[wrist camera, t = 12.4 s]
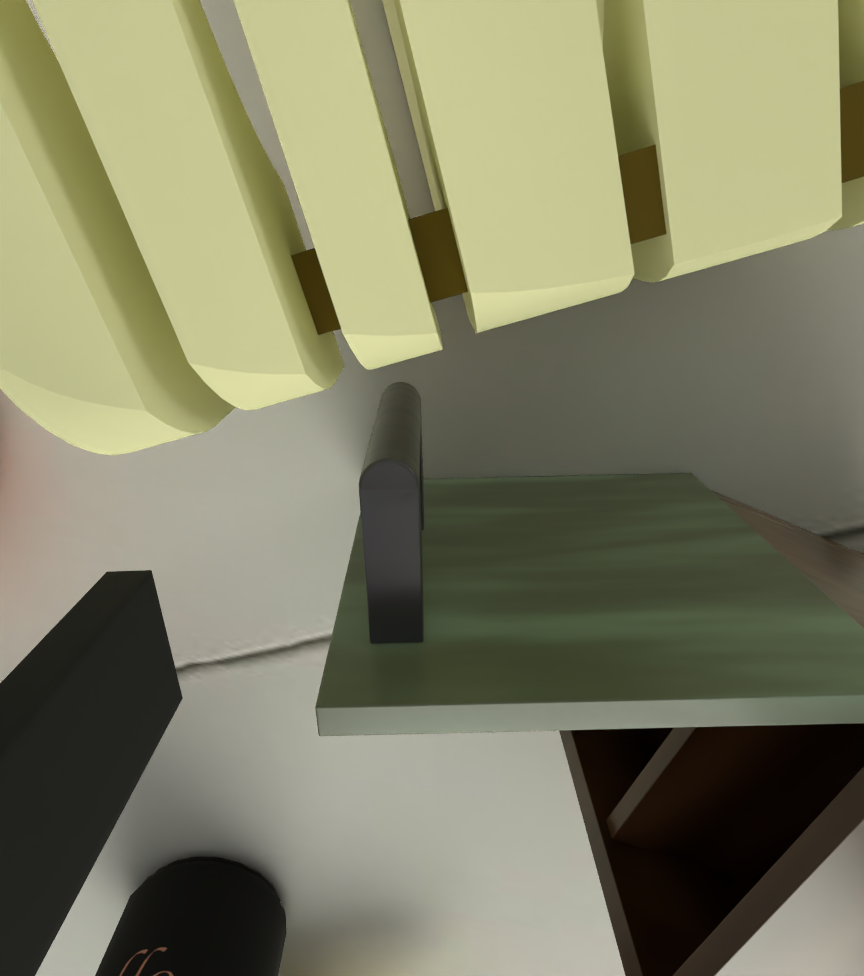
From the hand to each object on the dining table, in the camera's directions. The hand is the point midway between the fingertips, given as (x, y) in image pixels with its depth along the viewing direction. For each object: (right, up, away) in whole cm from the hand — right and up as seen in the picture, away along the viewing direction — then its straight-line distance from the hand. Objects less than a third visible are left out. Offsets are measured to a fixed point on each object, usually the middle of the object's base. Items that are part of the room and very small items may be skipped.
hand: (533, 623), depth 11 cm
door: (+3, +5, +19) cm, 20 cm away
